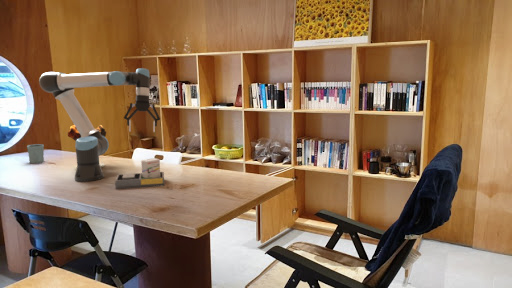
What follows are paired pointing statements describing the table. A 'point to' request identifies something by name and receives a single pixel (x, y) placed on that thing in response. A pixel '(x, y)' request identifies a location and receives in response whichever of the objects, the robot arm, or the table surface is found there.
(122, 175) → the grey compartment tray
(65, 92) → the robot arm
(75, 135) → the decorative vase
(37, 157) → the grey green cup
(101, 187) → the table surface
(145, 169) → the ink box
